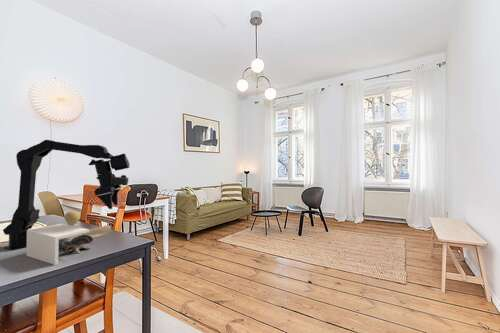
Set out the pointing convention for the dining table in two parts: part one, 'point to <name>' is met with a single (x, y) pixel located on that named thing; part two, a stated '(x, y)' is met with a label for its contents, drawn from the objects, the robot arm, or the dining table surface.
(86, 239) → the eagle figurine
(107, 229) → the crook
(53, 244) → the low shelf
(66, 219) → the light bulb
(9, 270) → the dining table surface
